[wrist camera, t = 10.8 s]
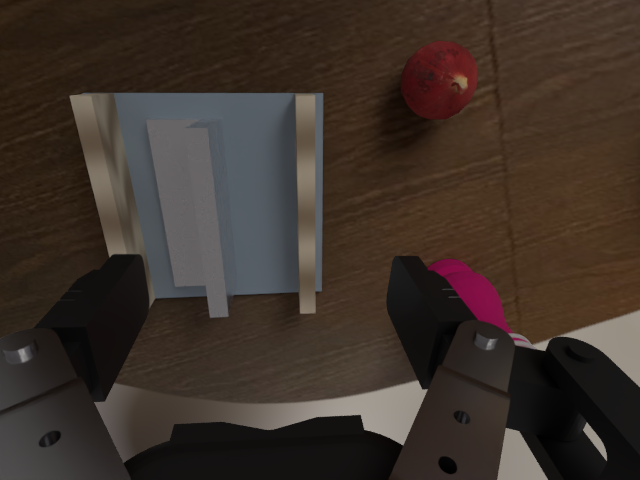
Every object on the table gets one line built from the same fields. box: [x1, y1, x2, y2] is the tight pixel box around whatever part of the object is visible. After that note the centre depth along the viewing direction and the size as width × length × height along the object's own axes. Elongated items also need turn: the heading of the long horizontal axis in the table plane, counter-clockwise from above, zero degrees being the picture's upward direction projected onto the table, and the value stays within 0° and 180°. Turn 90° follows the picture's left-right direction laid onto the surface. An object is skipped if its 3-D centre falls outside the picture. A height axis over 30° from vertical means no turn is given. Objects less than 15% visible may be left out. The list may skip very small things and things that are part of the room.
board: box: [82, 93, 323, 298], centre depth 36 cm, size 20×20×1 cm
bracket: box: [146, 118, 237, 318], centre depth 32 cm, size 16×6×7 cm, turn 0°
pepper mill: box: [427, 259, 536, 349], centre depth 33 cm, size 7×7×20 cm
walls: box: [70, 93, 315, 314], centre depth 34 cm, size 20×18×4 cm
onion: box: [401, 41, 478, 119], centre depth 30 cm, size 6×6×8 cm
